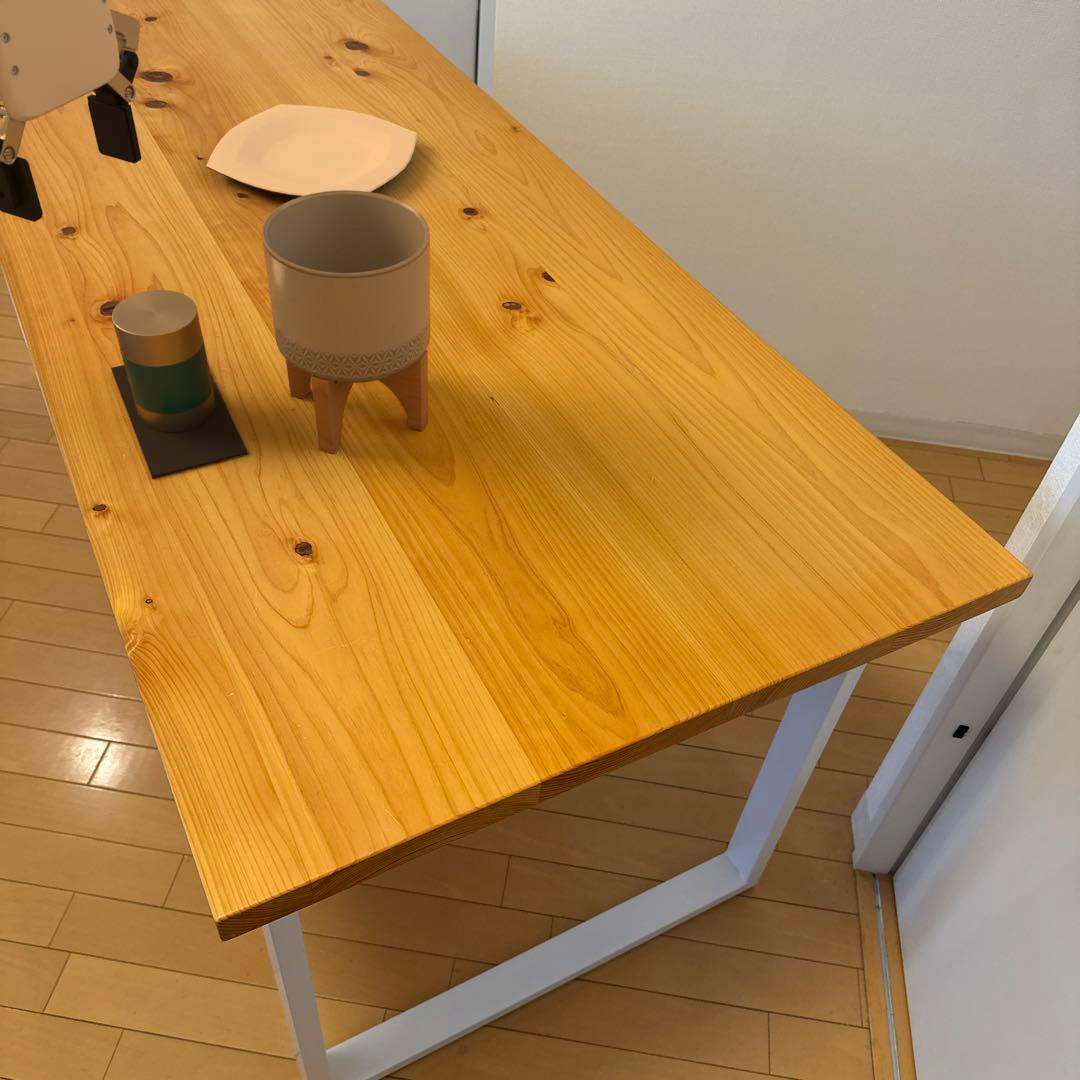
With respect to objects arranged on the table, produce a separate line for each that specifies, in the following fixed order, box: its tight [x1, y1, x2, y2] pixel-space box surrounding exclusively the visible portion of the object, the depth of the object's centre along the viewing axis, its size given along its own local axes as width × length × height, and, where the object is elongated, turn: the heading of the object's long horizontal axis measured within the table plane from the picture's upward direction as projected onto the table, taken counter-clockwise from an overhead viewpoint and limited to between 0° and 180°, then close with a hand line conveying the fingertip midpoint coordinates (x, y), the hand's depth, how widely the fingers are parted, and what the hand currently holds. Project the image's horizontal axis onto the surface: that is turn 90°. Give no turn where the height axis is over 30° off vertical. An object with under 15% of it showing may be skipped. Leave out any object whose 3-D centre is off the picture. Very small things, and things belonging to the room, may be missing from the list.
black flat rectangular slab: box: [110, 364, 249, 480], centre depth 89 cm, size 16×8×1 cm, turn 28°
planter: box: [261, 190, 431, 455], centre depth 85 cm, size 13×13×18 cm
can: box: [111, 289, 216, 432], centre depth 85 cm, size 7×7×10 cm
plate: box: [206, 103, 418, 198], centre depth 123 cm, size 23×23×2 cm
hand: (73, 184), depth 68 cm, fingers open, 9 cm apart
